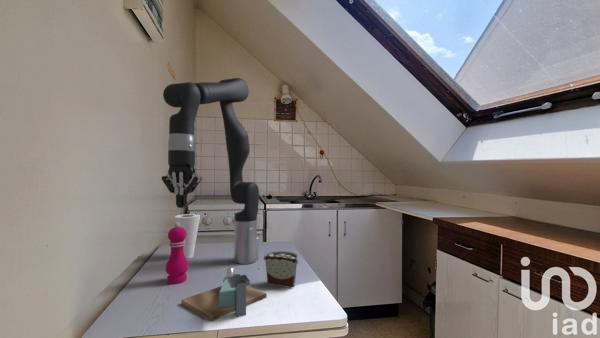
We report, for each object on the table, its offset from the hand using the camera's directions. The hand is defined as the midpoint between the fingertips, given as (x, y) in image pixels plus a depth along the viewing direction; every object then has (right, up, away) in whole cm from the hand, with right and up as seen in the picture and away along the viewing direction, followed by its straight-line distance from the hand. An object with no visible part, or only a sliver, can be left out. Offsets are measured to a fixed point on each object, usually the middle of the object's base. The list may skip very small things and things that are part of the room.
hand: (181, 207), depth 90 cm
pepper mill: (-7, -27, +14) cm, 31 cm away
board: (+14, -27, -2) cm, 30 cm away
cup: (-14, -27, +42) cm, 52 cm away
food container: (+30, -28, +12) cm, 43 cm away
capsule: (+14, -27, +4) cm, 31 cm away
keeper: (+19, -27, -8) cm, 34 cm away
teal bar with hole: (+15, -26, -1) cm, 30 cm away
